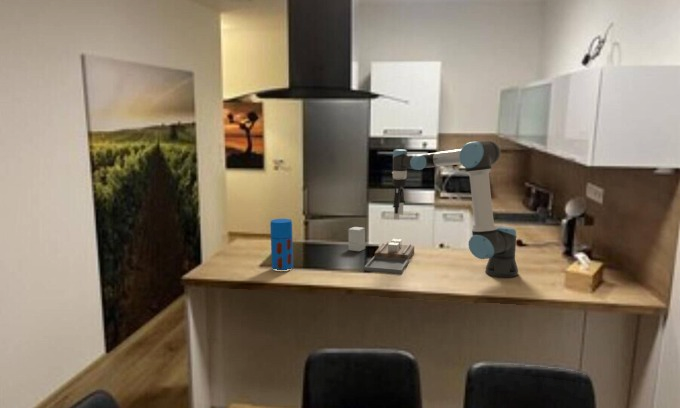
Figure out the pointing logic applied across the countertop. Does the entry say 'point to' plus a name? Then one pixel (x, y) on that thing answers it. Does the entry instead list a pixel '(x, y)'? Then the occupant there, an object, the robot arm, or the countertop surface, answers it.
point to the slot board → (403, 252)
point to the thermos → (281, 244)
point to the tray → (386, 265)
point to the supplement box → (356, 238)
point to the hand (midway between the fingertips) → (398, 216)
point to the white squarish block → (397, 242)
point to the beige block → (393, 247)
